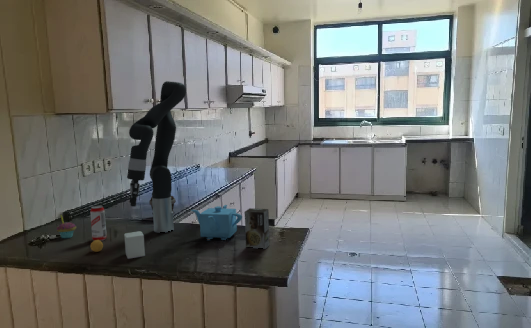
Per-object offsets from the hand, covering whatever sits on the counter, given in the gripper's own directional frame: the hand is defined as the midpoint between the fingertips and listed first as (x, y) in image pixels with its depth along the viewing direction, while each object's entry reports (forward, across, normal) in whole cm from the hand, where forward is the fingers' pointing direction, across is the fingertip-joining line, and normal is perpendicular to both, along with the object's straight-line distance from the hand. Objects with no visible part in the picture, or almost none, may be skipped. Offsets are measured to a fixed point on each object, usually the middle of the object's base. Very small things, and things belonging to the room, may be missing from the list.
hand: (132, 204), depth 179 cm
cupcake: (+23, +27, +26) cm, 44 cm away
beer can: (+20, +14, +12) cm, 28 cm away
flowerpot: (+14, +46, -21) cm, 52 cm away
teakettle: (+12, -7, -39) cm, 42 cm away
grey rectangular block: (+18, -16, -2) cm, 24 cm away
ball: (+18, -4, +13) cm, 23 cm away
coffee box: (+10, -28, -52) cm, 60 cm away
